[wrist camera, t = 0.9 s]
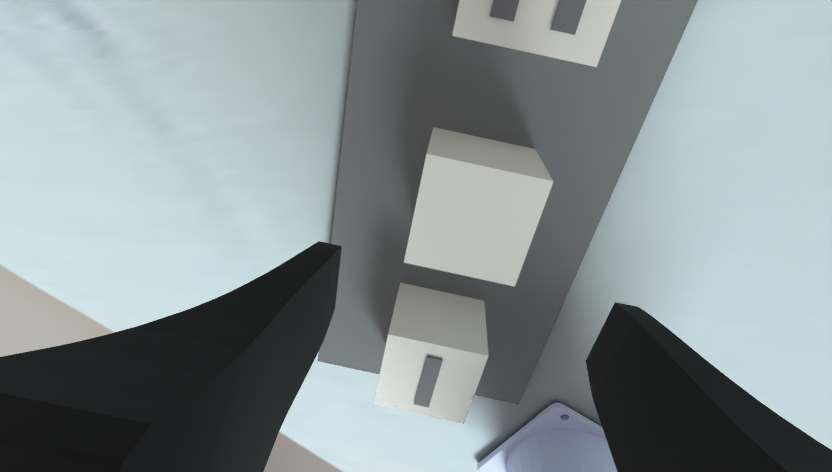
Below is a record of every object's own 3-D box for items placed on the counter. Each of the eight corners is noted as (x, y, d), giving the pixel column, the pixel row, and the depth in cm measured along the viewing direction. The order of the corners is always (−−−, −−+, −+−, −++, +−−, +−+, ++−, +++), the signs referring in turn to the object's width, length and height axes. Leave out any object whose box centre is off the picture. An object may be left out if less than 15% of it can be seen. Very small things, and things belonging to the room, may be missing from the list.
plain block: (535, 149, 18) (553, 181, 14) (505, 238, 20) (514, 286, 16) (433, 127, 18) (426, 153, 14) (414, 219, 20) (403, 262, 16)
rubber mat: (517, 396, 25) (518, 404, 25) (320, 353, 25) (317, 361, 25) (750, -139, 14) (762, -146, 13) (385, -219, 13) (382, -229, 13)
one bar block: (484, 300, 22) (488, 358, 18) (463, 362, 24) (463, 425, 20) (400, 282, 22) (387, 335, 18) (386, 346, 24) (373, 406, 20)
